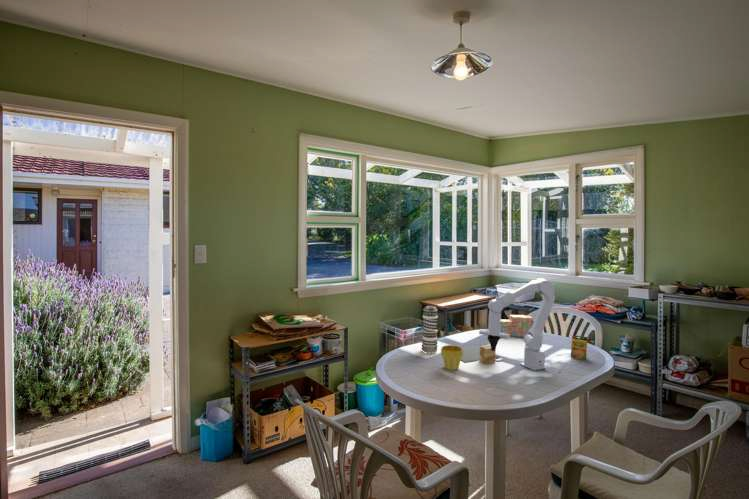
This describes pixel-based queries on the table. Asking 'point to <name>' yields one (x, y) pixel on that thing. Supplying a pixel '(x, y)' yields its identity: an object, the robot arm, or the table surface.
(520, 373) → the table surface
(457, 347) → the plant pot
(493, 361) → the oak block
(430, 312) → the decorative candle
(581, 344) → the crayon box
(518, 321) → the stack of blocks
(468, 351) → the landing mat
